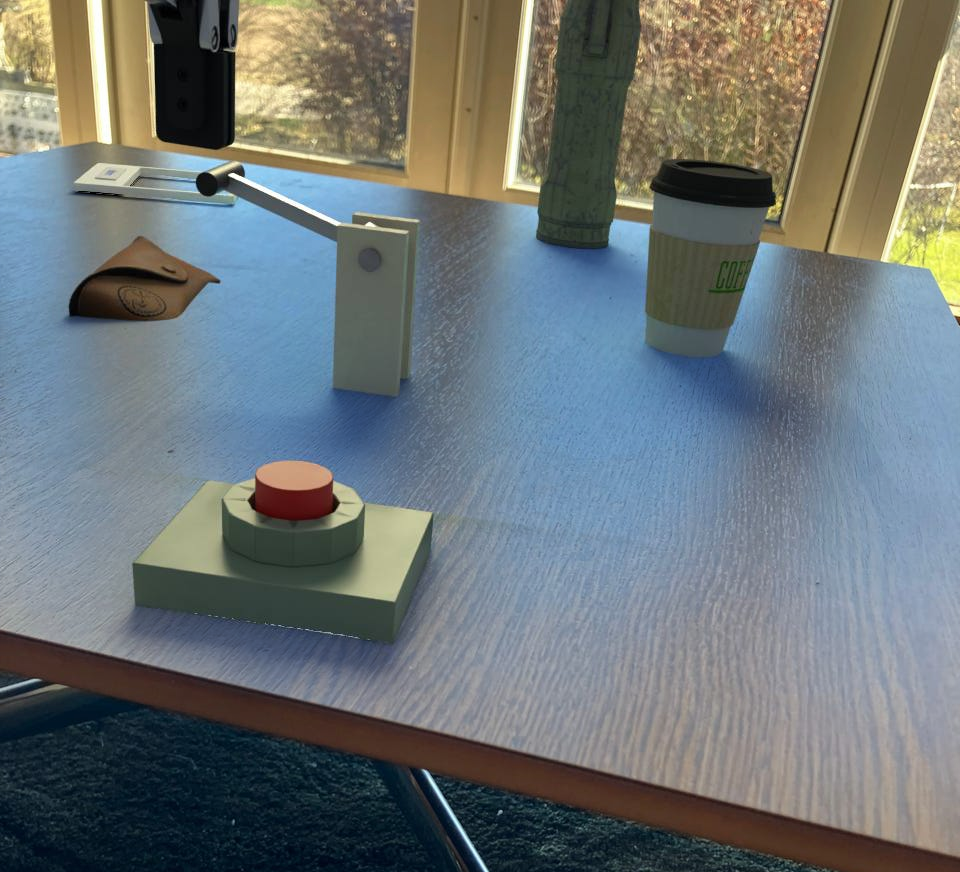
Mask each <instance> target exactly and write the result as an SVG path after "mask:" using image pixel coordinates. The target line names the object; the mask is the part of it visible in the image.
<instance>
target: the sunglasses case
mask: <svg viewBox="0 0 960 872" xmlns="http://www.w3.org/2000/svg"><path fill="white" fill-rule="evenodd" d="M221 282H222V280H221V279H220V278H218V277H216V276H215V275H213V274H212V273H210V272H208V271H206V270H204V269H202V268H200V267H197V266H196V265H193V264H191V263H188V262H187V261H184V260H183V259H181V258H179V257H176V256H175V255H174V256H173V255H172V254H170V253H169V252H165V251H164V250H163V249H162V248H161V247H159V246H158V244H157V245H156V244H155V243H154V242H153V241H152V240H150V239H149V238H147V237H145V236H143V235H138V236H137V237H136V238H134V240H132V242H131V243H130V244H129V245H128V246H126V247H125V248H122V249H121V250H120V251H118V252H117V253H116V254H114V255H112V256H111V257H110V258H109V259H108V260H106V261H105V262H104V263H103V264H101V265H100V266H99V267H98V268H97V269H96V270H94V271H93V272H92V273H91V274H89V275H88V276H86V277H85V278H84V279H82V280H81V281H80V283H78V285H77V286H76V287H75V289H74V291H73V292H72V293H71V295H70V298H69V301H68V315H69V317H80V318H90V319H105V320H119V321H133V322H136V321H137V322H157V321H158V322H159V321H168V320H174V319H177V318H179V317H180V316H182V315H183V313H184V312H185V311H186V309H187V308H188V307H189V306H190V304H191V303H192V302H193V301H194V300H195V298H196V297H197V296H198V295H199V293H201V292H202V290H203V289H204V288H205V287H206V286H207V285H208V284H210V283H211V284H218V285H220V283H221Z"/></svg>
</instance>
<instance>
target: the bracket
mask: <svg viewBox="0 0 960 872" xmlns="http://www.w3.org/2000/svg"><path fill="white" fill-rule="evenodd" d="M368 222H370V223H373V224H375V225H377V226H379V227H373V226H366V224H367V223H368ZM420 232H421V219H416V218H407V217H400V216H392V215H384V214H375V213H370V212H369V213H367V212H359V211H355V212H354V213H353V214H352V215H351V222H349V223H348V222H340V224H339V225H338V228H337V242H336V260H335V261H336V262H335V263H336V265H335V266H336V267H335V270H336V271H335V293H334V294H335V296H334V297H335V299H334V327H333V329H334V331H333V333H334V334H333V358H332V359H333V360H332V361H333V365H332V367H333V368H332V389H338V390H344V391H352V392H359V393H367V394H374V395H381V396H388V397H394V398H395V397H398V395H399V394H400V391H401V389H400V387H401V379H403V380H404V379H405V380H408V379H409V378H410V377H411V368H412V355H413V342H414V341H413V339H414V326H415V325H414V324H415V308H416V295H417V294H416V293H417V278H418V265H419V247H420V234H421V233H420Z"/></svg>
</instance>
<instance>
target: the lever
mask: <svg viewBox="0 0 960 872" xmlns="http://www.w3.org/2000/svg"><path fill="white" fill-rule="evenodd" d="M201 172H202V173H200V174H199V175H198V176H197V178H196V180H195V188H196V189H197V192H200V193H201V194H202V195H204V196H207V197H210V196H213V195H215V194H221V193H222V192H224V191H225V192H227V193H228V194H229V193H231V194H233V195H235V196H237V198H240V199H242V200H244V201H246V202H249V203H251V204H253V205H255V206H257V207H260V208H261V209H264V210H265V211H267V212H270V213H272V214H274V215H276V216H279V217H281V218H283V219H285V220H287V221H290V222H292V223H294V224H295V225H298V226H300V227H302V228H305V229H306V230H308V231H311V232H313V233H315V234H318V235H320V236H322V237H324V238H326V239H329V240H331V241H333V242H335V243H337V228H338V225H339V224H340V223H341V222H339V221H337V220H335V219H333V218H331V217H329V216H326V215H324V214H322V213H320V212H318V211H316V210H314V209H312V208H309V207H307V206H305V205H303V204H301V203H299V202H296V201H294V200H292V199H290V198H288V197H287V196H283V195H281V194H279V193H277V192H275V191H273V190H271V189H270V188H269V189H268V188H267V187H264V186H262V185H260V184H257V183H256V182H253V181H251V180H249V179H247V178H245V177H246V171H245V168H244V165H242V164H241V162H239V161H237V160H230V161H227V162H225V163H222V164H219V165H217V166H215V167H212V168H210V169H207V170H204V171H201ZM366 226H373V227H379V226H377V225H375V224H373V223H370V222H368V223H367V224H366Z"/></svg>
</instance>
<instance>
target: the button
mask: <svg viewBox="0 0 960 872" xmlns="http://www.w3.org/2000/svg"><path fill="white" fill-rule="evenodd" d="M254 478H255V509H256V511H257V512H259V513H261V514H263V515H265V516H267V517H270V518H276V519H283V520H290V521H300V520H313V519H319V518H321V517H324V516H326V515H329V514H331V513H332V505H333V481H334V475H333V473H332V471H331V470H330V469H329V468H326V467H325V466H323V465H320V464H318V463H314V462H311V461H310V462H309V461H303V460H279V461H272V462H269V463H266V464H263V465H261V466H260V467H259V468H257V469H256V471H255V474H254Z"/></svg>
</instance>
